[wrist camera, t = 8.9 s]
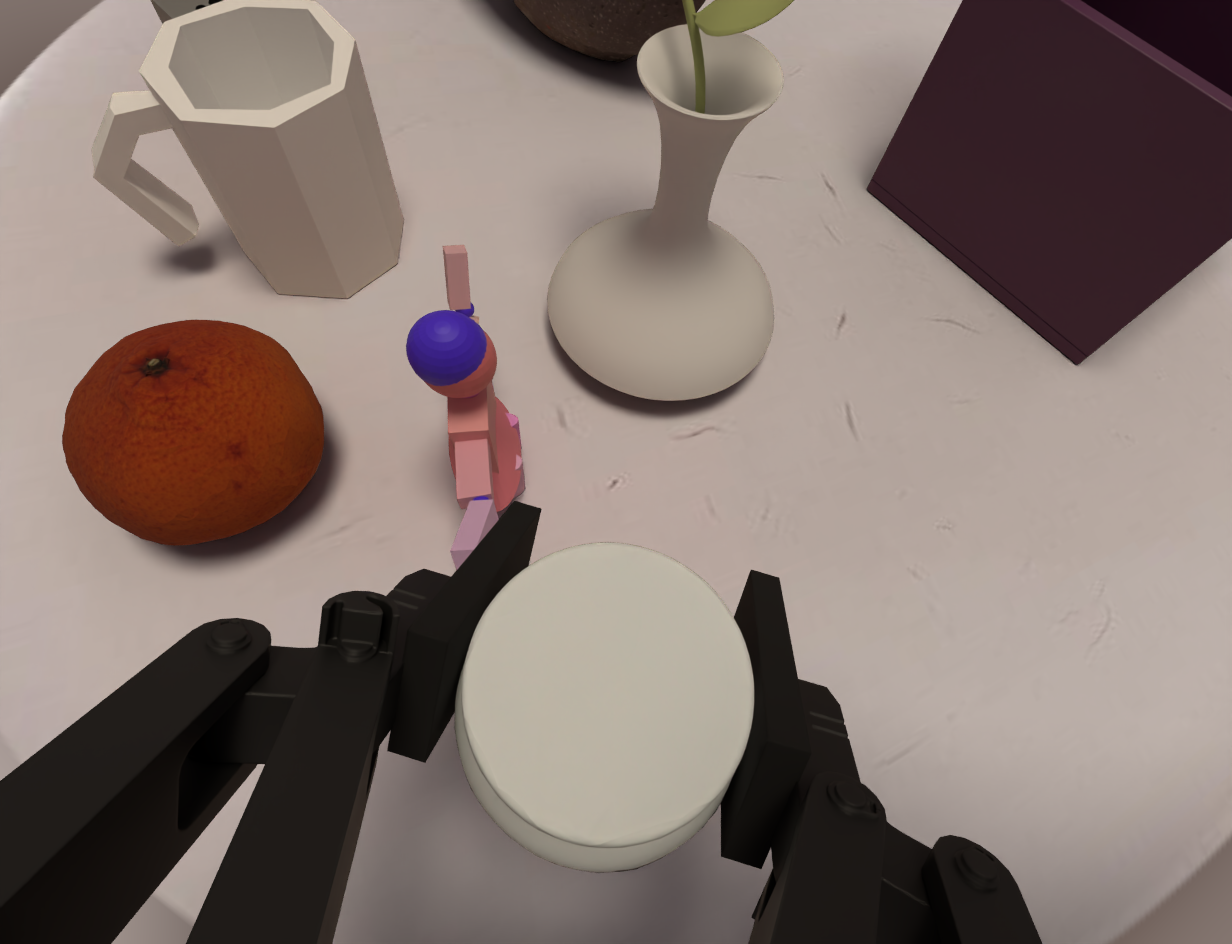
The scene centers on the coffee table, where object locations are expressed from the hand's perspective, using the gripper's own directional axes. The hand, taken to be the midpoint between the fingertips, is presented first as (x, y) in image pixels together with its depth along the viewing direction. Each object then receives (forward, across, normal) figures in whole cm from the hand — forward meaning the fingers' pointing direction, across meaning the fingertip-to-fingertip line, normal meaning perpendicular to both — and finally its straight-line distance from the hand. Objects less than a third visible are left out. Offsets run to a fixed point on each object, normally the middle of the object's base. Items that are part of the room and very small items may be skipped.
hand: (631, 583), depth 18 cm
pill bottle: (0, 0, -5) cm, 5 cm away
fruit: (+10, -18, -5) cm, 21 cm away
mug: (+19, -22, +4) cm, 29 cm away
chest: (+30, +18, +15) cm, 38 cm away
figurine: (+12, -7, -4) cm, 14 cm away
